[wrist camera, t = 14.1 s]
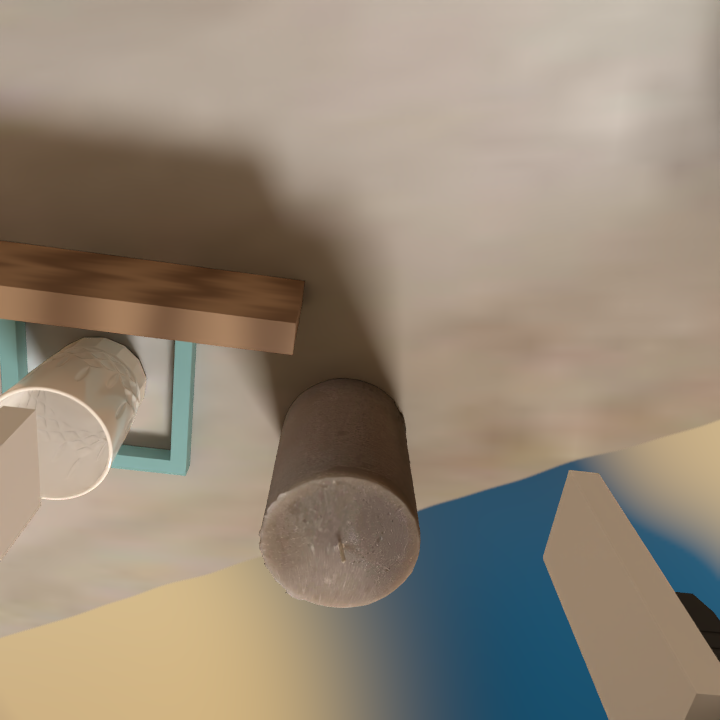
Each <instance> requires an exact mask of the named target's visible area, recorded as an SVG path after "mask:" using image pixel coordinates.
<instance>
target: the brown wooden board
mask: <svg viewBox="0 0 720 720" xmlns="http://www.w3.org/2000/svg"><path fill="white" fill-rule="evenodd" d="M304 284H305V281H301V280H293V279H286V278H278V277H271V276H263V275H256V274H248V273H241V272H233V271H226V270H218V269H211V268H203V267H196V266H188V265H181V264H173V263H166V262H158V261H151V260H143V259H135V258H128V257H120V256H113V255H105V254H98V253H90V252H83V251H75V250H68V249H60V248H53V247H45V246H38V245H30V244H23V243H15V242H8V241H0V319H7V320H15V321H23V322H31V323H39V324H47V325H55V326H64V327H72V328H80V329H88V330H96V331H104V332H112V333H120V334H128V335H136V336H144V337H152V338H160V339H168V340H176V341H184V342H192V343H200V344H208V345H216V346H224V347H232V348H240V349H248V350H256V351H264V352H272V353H280V354H288V355H293V351H294V345H295V340H296V335H297V330H298V325H299V320H300V314H301V309H302V302H303V293H304Z"/></svg>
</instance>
